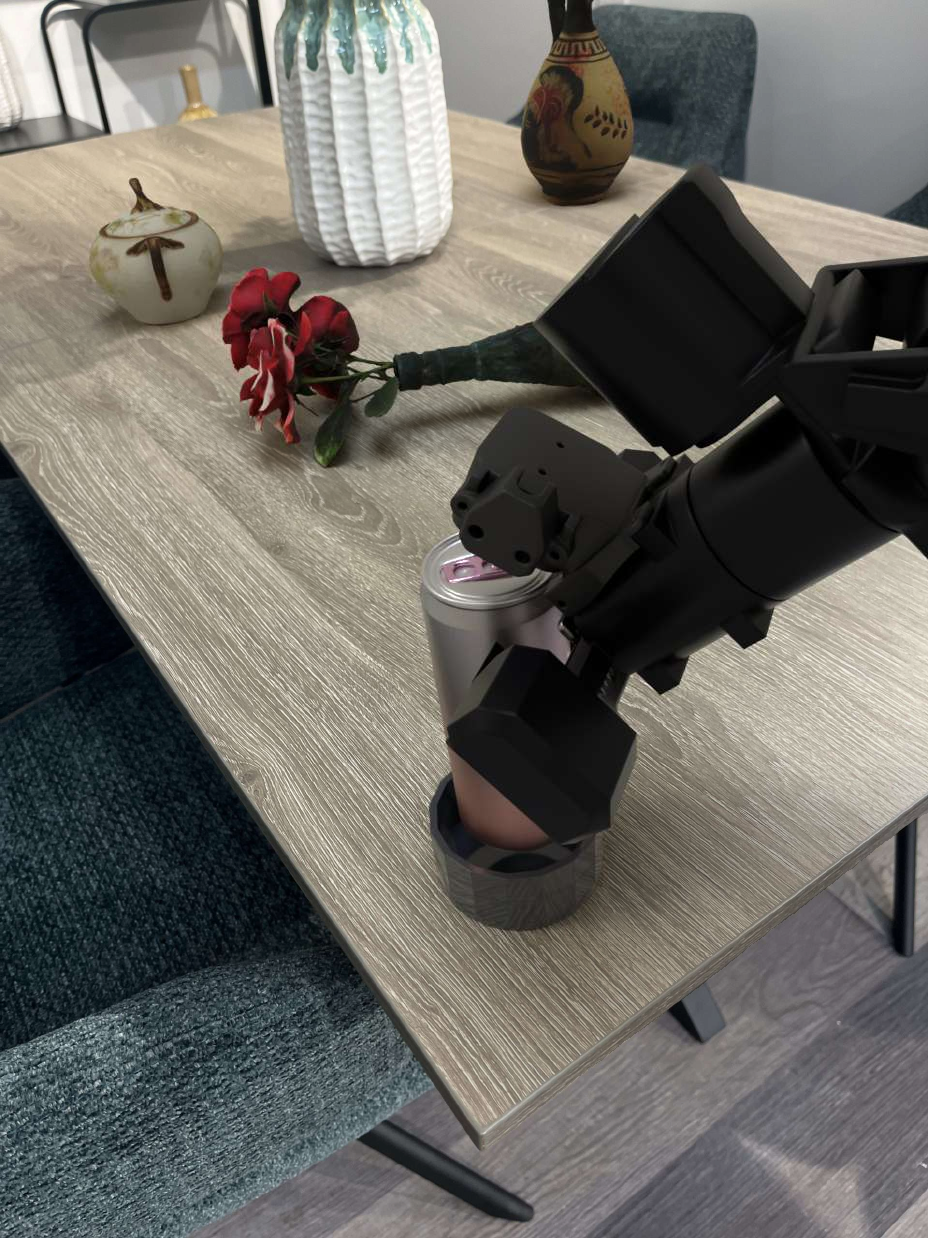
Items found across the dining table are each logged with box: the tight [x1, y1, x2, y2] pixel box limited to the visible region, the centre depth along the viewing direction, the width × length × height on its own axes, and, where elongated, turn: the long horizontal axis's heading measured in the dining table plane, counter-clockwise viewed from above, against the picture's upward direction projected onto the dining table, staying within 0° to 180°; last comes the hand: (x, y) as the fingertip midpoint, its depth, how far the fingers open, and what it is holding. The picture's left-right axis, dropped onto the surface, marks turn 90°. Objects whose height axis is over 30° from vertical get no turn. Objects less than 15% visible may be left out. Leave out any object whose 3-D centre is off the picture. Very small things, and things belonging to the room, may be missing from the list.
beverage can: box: [419, 531, 571, 853], centre depth 45 cm, size 6×6×15 cm
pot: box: [428, 770, 604, 931], centre depth 51 cm, size 8×8×4 cm
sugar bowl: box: [88, 177, 224, 325], centre depth 115 cm, size 20×15×15 cm
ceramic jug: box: [520, 0, 635, 206], centre depth 134 cm, size 17×15×30 cm
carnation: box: [221, 267, 597, 468], centre depth 90 cm, size 16×18×35 cm
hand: (480, 701), depth 46 cm, fingers closed on beverage can, 6 cm apart
